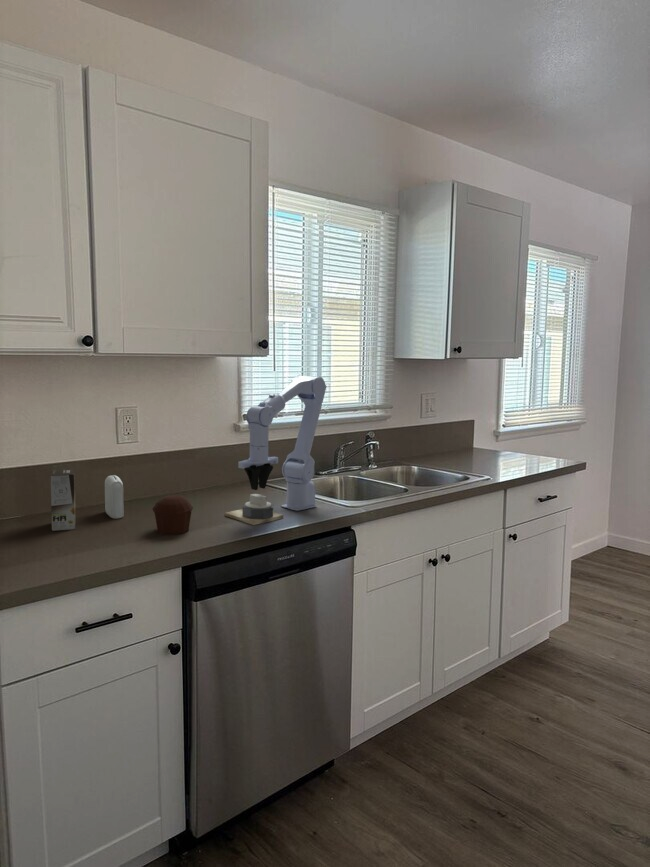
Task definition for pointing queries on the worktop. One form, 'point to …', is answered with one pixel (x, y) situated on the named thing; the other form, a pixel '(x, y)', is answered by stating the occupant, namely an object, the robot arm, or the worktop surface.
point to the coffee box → (62, 499)
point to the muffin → (172, 515)
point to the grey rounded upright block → (114, 497)
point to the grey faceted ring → (257, 512)
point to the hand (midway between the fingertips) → (258, 488)
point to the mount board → (239, 516)
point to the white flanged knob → (258, 502)
